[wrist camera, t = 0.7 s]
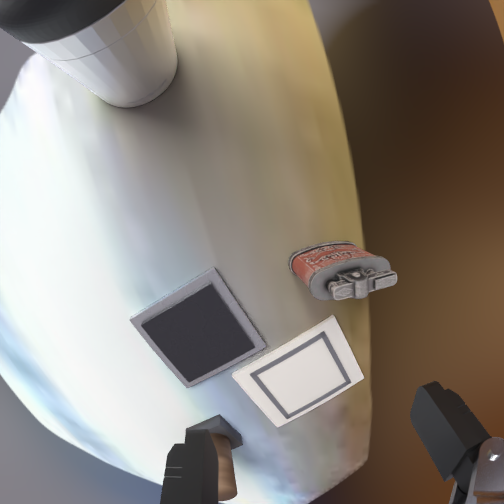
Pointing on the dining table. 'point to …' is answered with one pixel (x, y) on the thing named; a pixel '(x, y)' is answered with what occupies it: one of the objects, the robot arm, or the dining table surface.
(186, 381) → the ink pad
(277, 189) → the dining table surface
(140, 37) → the robot arm
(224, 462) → the stamp
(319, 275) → the lighter
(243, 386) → the marked board
